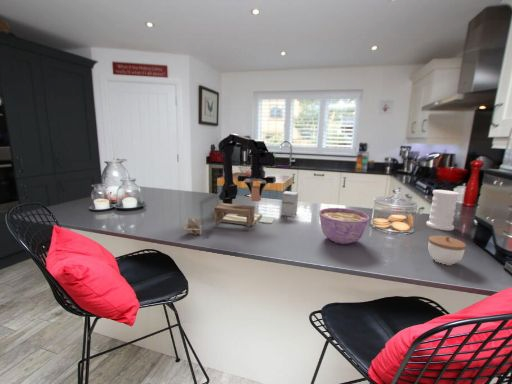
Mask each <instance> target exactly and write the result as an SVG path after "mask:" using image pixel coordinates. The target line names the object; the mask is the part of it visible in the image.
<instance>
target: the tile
mask: <svg viewBox="0 0 512 384" xmlns="http://www.w3.org/2000/svg"><path fill="white" fill-rule="evenodd" d="M274 219H276V217H272V216H265V215H264V216H262V217H261V218H260V219H259V220H258V223H261V224H267V225H268V224H269V225H272V224H273V222H274V221H275V220H274Z"/></svg>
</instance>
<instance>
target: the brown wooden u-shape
mask: <svg viewBox="0 0 512 384" xmlns="http://www.w3.org/2000/svg"><path fill="white" fill-rule="evenodd" d="M255 207H256V206H252V205H245V204H244V205H243V204H233V203H232V204H226V203H223V202H221V203H220V204H218V205H216V206H214V207H213V210H214V211H213V218H214V221H213V223H215V224H217V223H219V222H221V219H222V218H224V216H225V214H228V213H231V214H240V215H247V216H246V217H247V222H246V227H247V228H249V227H251V226H252V225H251V224H252V223H253V222H254V213H255Z"/></svg>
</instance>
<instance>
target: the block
mask: <svg viewBox="0 0 512 384" xmlns="http://www.w3.org/2000/svg"><path fill="white" fill-rule="evenodd" d="M250 195H251V197H250V198H251V202H261V201H262V195H261V196H260V185H259V186H257V185H253V187H252V190H251V192H250Z"/></svg>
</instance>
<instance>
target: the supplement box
mask: <svg viewBox="0 0 512 384" xmlns="http://www.w3.org/2000/svg"><path fill="white" fill-rule="evenodd" d="M281 197H282V198H281V213H280V215H281V216H287V217H292V216H294V217H295V216H296V215H297V214H296V213H297V211H298V199H299V192H297V191H290V190H289V191H288V190H285V191H284V192H282V196H281ZM295 214H296V215H295Z"/></svg>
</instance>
